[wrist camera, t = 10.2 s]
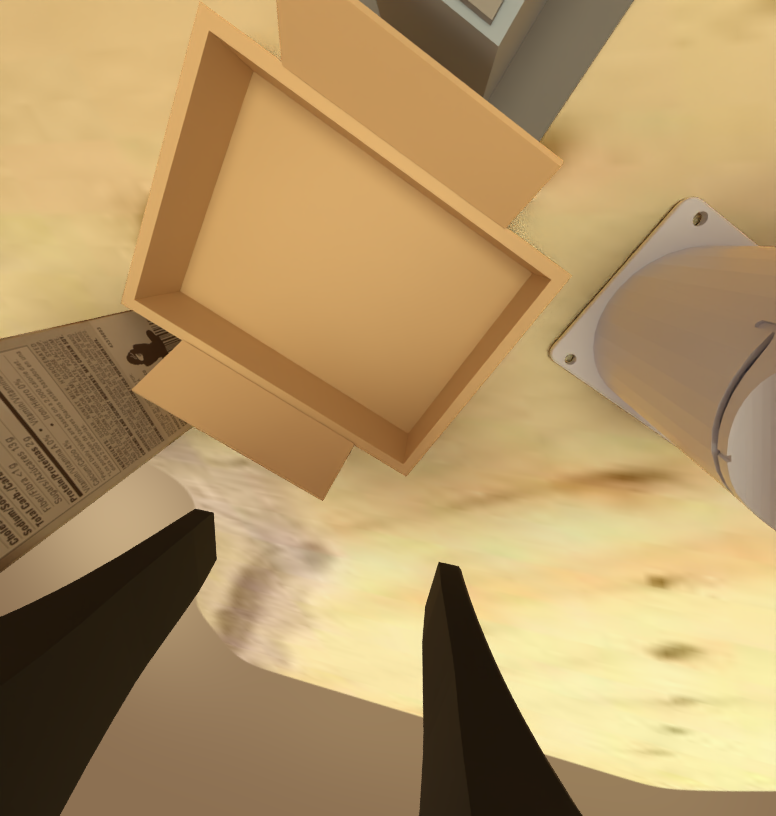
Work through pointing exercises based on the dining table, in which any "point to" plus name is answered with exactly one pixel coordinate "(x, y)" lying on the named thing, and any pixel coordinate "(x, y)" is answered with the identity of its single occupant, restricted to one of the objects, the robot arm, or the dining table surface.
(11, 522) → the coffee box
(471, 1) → the block
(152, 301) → the carton
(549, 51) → the mat
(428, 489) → the dining table surface
